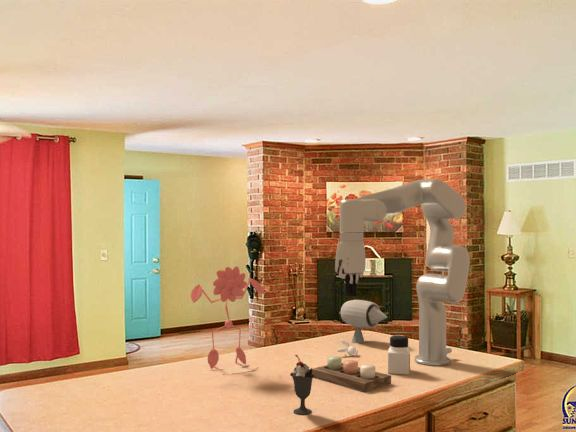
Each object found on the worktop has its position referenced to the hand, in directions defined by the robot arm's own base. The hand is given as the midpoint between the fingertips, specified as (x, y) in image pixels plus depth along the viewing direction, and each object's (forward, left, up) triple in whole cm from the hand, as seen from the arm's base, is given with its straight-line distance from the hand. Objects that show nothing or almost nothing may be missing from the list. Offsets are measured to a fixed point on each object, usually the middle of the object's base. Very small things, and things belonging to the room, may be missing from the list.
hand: (351, 295), depth 183 cm
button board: (0, 0, -27) cm, 27 cm away
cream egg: (0, +7, -25) cm, 26 cm away
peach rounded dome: (0, 0, -25) cm, 25 cm away
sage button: (0, -7, -25) cm, 26 cm away
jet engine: (-45, -33, -27) cm, 62 cm away
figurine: (+20, -37, -27) cm, 50 cm away
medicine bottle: (-20, +4, -27) cm, 34 cm away
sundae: (+32, +11, -27) cm, 43 cm away
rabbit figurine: (-24, -23, -27) cm, 43 cm away
